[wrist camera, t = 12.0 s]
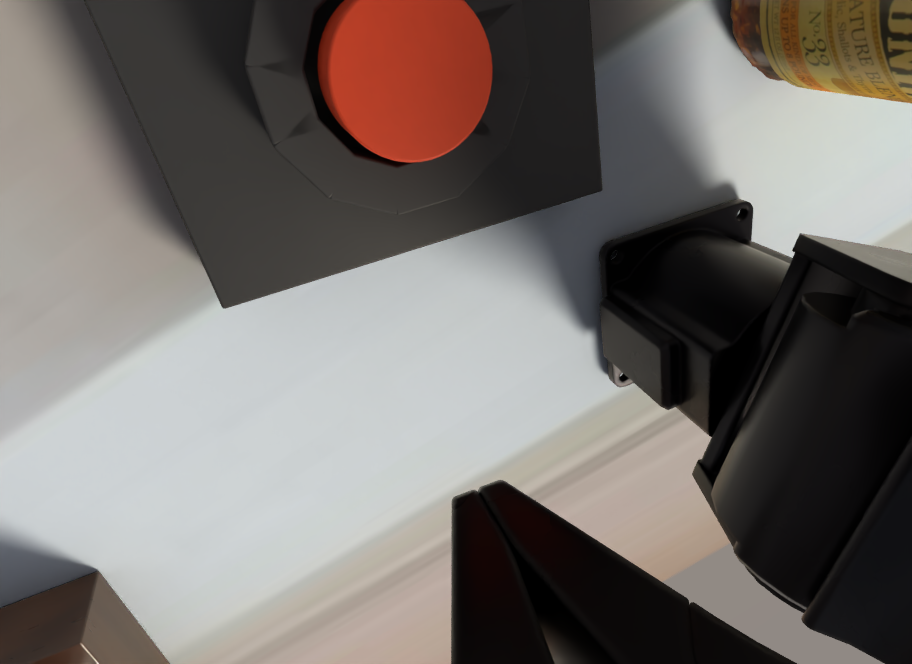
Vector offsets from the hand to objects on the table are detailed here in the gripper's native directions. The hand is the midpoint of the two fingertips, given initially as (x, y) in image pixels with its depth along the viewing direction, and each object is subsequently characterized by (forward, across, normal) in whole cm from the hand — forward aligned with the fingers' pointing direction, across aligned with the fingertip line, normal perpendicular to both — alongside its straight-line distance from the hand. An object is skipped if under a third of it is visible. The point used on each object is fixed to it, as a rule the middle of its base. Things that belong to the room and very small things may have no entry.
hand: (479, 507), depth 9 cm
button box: (+12, -2, -6) cm, 13 cm away
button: (+8, -2, -5) cm, 10 cm away
